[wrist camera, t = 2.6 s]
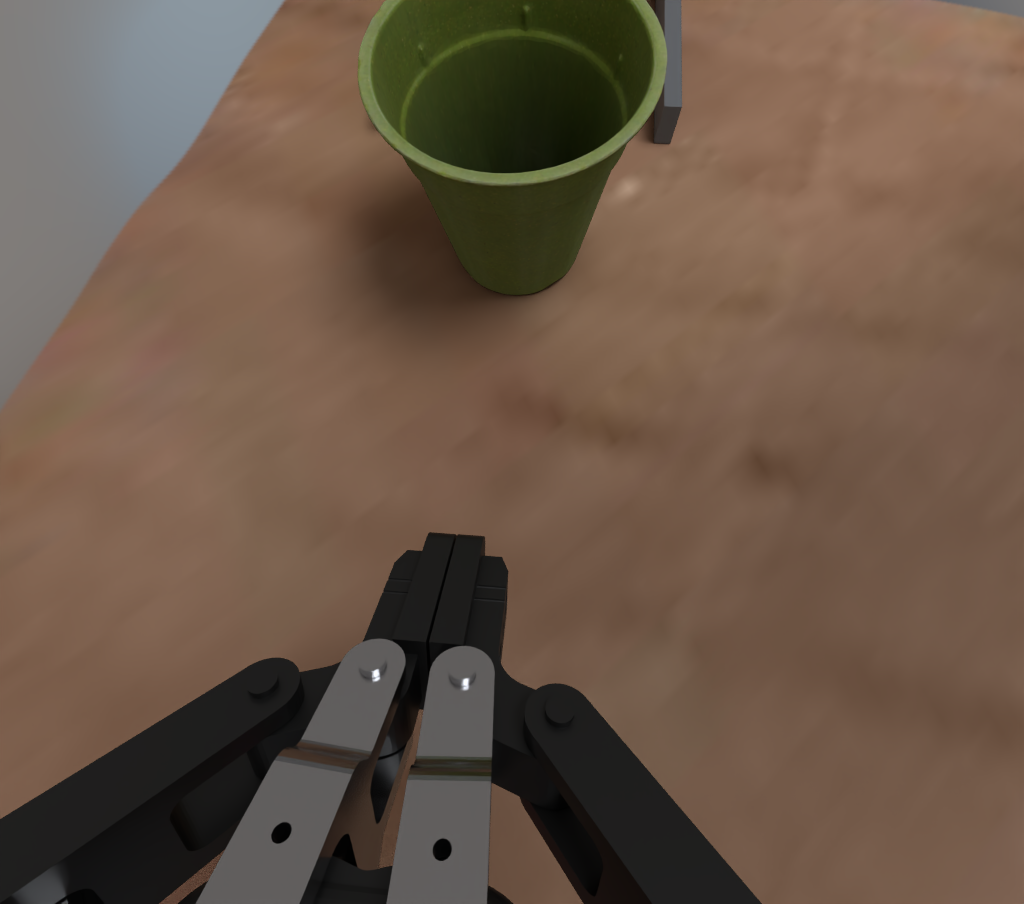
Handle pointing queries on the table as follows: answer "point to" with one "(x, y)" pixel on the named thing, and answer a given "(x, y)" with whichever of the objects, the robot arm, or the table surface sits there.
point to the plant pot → (512, 118)
